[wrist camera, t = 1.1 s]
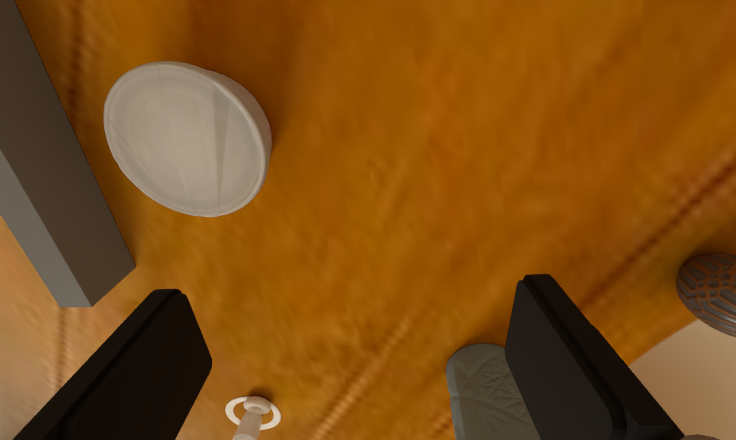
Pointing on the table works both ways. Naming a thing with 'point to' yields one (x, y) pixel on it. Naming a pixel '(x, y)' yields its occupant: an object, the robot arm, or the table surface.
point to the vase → (710, 290)
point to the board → (51, 180)
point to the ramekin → (188, 137)
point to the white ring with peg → (252, 416)
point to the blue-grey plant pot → (486, 396)
